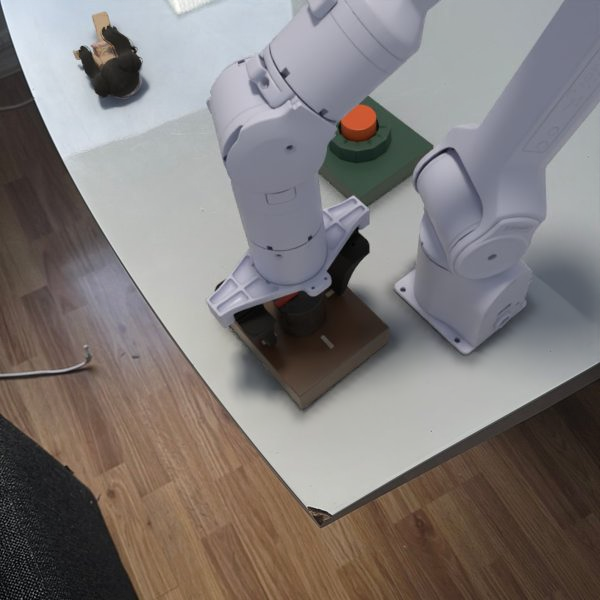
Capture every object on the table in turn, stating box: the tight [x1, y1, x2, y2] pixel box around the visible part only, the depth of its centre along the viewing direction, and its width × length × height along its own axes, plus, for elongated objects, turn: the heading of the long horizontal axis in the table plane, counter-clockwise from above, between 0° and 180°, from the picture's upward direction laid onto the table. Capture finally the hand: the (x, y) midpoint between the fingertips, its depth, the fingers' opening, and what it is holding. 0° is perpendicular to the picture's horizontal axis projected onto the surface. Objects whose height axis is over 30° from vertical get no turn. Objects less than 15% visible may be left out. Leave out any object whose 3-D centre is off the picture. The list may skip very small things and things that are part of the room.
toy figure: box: [72, 11, 143, 100], centre depth 80 cm, size 7×6×15 cm
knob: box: [272, 290, 326, 337], centre depth 57 cm, size 4×4×4 cm
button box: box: [318, 95, 435, 208], centre depth 70 cm, size 12×10×4 cm
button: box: [341, 105, 376, 142], centre depth 68 cm, size 4×4×2 cm
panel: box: [229, 286, 390, 410], centre depth 60 cm, size 12×10×3 cm
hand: (301, 312), depth 58 cm, fingers open, 7 cm apart
